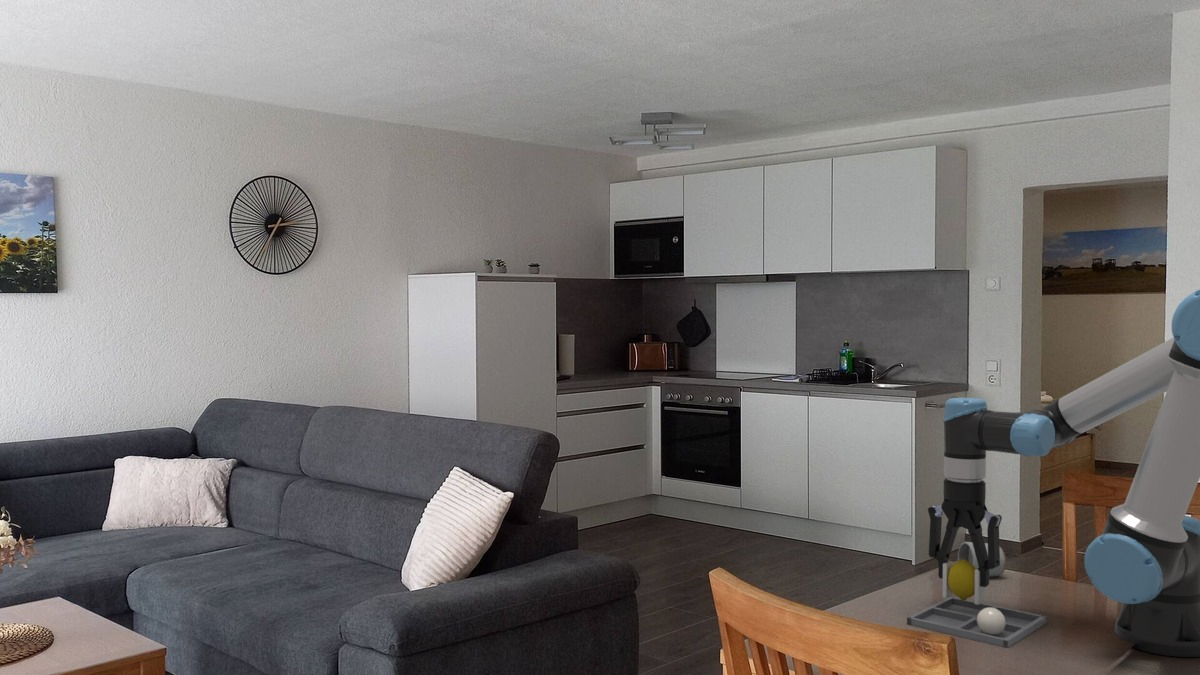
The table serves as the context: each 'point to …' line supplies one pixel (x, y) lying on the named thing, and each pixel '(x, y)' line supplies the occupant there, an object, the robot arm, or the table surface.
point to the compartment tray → (975, 621)
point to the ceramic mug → (969, 555)
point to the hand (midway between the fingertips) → (963, 599)
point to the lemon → (962, 579)
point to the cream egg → (991, 621)
